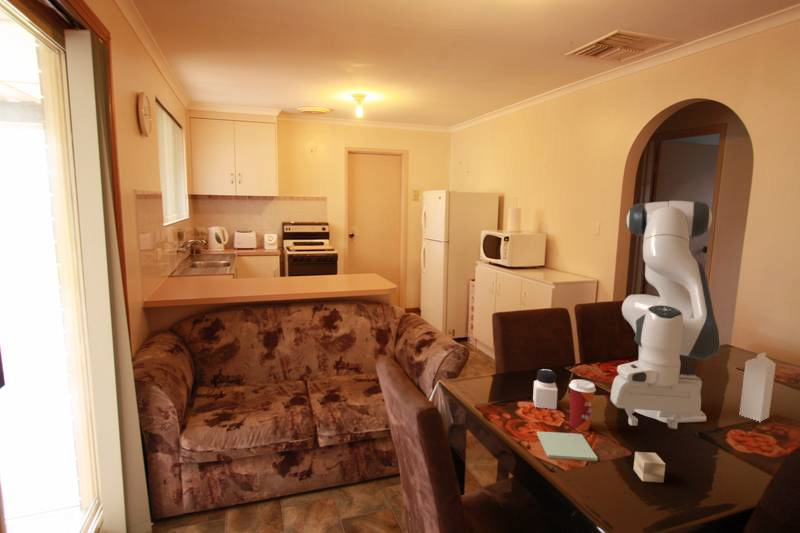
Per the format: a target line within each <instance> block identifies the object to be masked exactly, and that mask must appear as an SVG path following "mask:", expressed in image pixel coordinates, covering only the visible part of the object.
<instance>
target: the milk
mask: <svg viewBox="0 0 800 533" xmlns="http://www.w3.org/2000/svg"><path fill="white" fill-rule="evenodd" d="M776 365H777V364H776V363H775V362H774V361H772V360H771V359H770V358H768V357H767V352H766V351H764V352H761V353H758V354H757V355H756V357H755V358H752V359H748V360H746V361H745V364H744V371H743V372H744V373H743V380H742V389H741V397H740V405H739V411H738V412H739V414H738V415H739V416H740V415H741V417H743V416H744V417H743V418H746V417H747V418H746V419H748V418H750V419H749V420H751V419H753V420H752V421H754V420H756V421H755V422H757V421H759V422H758V423H762V422H761V421H763V420H765V419H767V418H769V416H770V412H771V411H770V410H771V402H772V396H773V388H774V380H775V373H776V372H775V371H776ZM767 420H768V419H767ZM765 421H766V420H765ZM763 422H764V421H763Z"/></svg>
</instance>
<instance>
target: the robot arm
mask: <svg viewBox="0 0 800 533" xmlns="http://www.w3.org/2000/svg"><path fill="white" fill-rule="evenodd" d="M711 210H712V209H711V208H710V206H709V204H708V203H706V202H703V201H698V200H694V201H687V200H669V201H654V202H653V201H652V202H648V203H645V202H641V203H636V204H633V205H632V206H631V207H630V210H628V213H627V215H626V225H627V229H628V231H629V233H631V234H632V235H633V236H637V237H643V242H642V258H643V262H644V263H645V264H644V265H645V266H644V269H645V270H644V276H645V280H646V281H647V283H648V284H650V286H653V287H654V289H656V291H657V292H658V294H659V296H656V295H651V294H643V293H642V294H640V293H639V294H629V295H628V296H627V297H626V298H625V299H624V300H623V303H622V305H621V314H622V316H623V318H624V320H625V321H627V322H628V323H629V325H630V326H631V328H632V329H633V331H634V334H635V336H634V339H633V340H634V342H635V343H636V344H637V345H638V358H637V359H638V360H634V361H632V362H628V363H622V364H619V365H617V367H616V372H617V373H618V374H617V375H616V376H615V378H614V379H613V382H612V384H611V390H610V401H611V402H612V403H613V405H614V406H615V407H616V408H618V409H624V410H625V412H626V414H627V416H628V420H627V421H628V424H629V426H634V427H635V426H638V422H639V419H638V418H637V417H636V416H634V415H633V414H635V413H637V414H640V415H643V416H645V417H648V418H651V419H655V420H657V421H659V422H662V423H666V426H667V427H668V428H669V429H674V430H677V429H678V423H697V422H698V423H700V422H701V423H702V422H707V415H706V414H705V413H704V412H703V411H702V410H701V408H702V397H701V395H702V394H701V393H702V392H701V390H702V384H703V382H702V380H701V378H700V377H699V376H697V375H695V374H685V373H681V372H680V371H681V363H682V362H681V358H680V356H685V357H689V358H692V359H697V360H702V361H704V360H707V359H709V358H712V357H713V356H715V355H717V354H718V353H719V351H720V347H721V340H722V339H721V334H720V331H719V327H718V323H717V320H716V317H715V312H714V307H713V303H712V298H711V291H710V286H709V282H708V279H707V274H706V271H705V268H704V266H703V264H702V262H701V261H699V260H696V259H695V257H694V256H693V255H692V252H691V250H690V240H694V238H698V237H701V236H703V235H704V234H706V233H707V232H708V230H709V229H710V227H711V226H712V222H713V214H712V211H711Z"/></svg>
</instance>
